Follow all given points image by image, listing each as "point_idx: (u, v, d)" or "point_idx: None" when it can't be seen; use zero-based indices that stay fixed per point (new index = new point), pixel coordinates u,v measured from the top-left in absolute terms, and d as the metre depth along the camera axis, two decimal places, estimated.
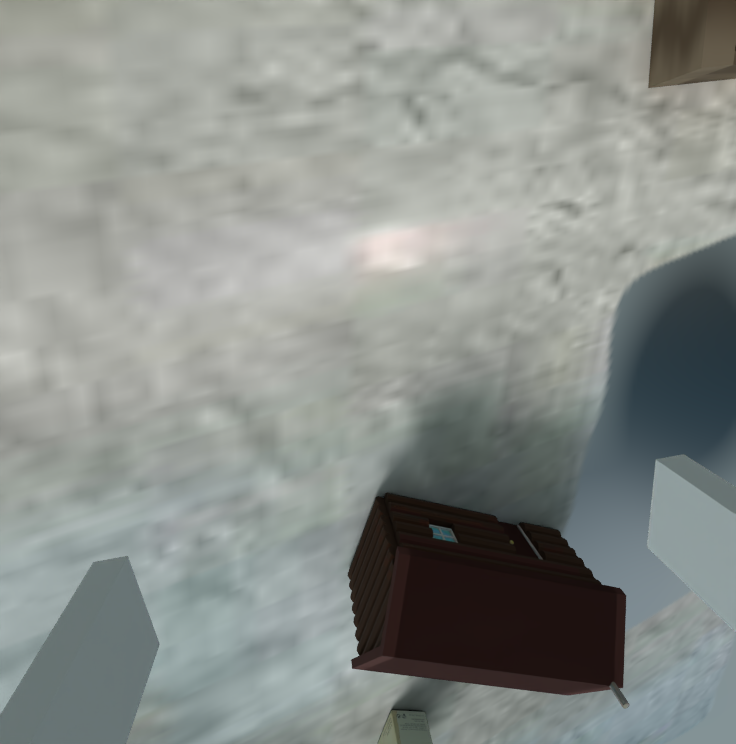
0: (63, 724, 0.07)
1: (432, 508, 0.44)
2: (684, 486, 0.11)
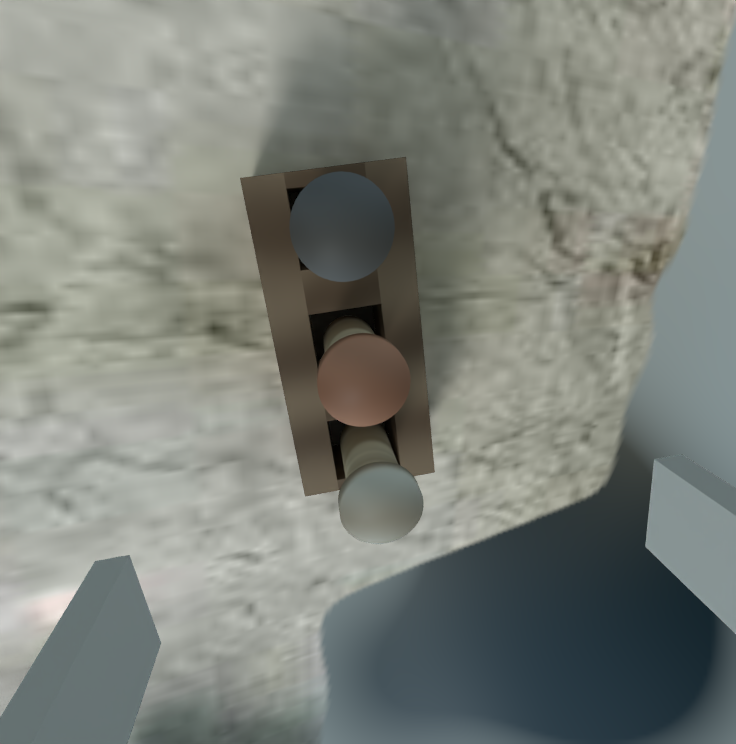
0: (65, 722, 0.08)
1: None
2: (682, 485, 0.11)
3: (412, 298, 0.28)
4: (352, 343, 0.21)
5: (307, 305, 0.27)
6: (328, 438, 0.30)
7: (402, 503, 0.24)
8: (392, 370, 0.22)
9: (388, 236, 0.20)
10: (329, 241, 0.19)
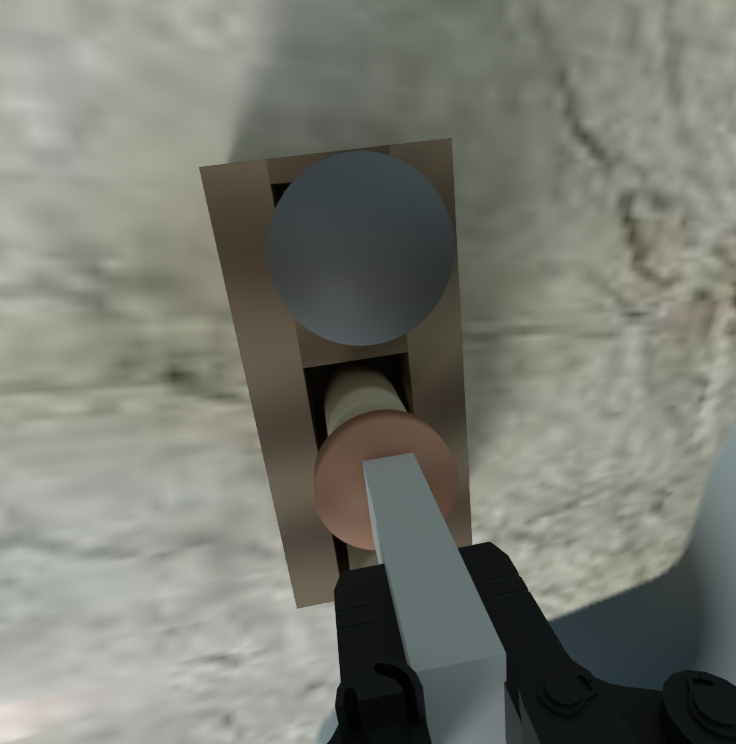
0: None
1: None
2: (394, 479, 0.12)
3: (453, 344, 0.19)
4: (370, 431, 0.13)
5: (301, 355, 0.19)
6: (329, 533, 0.21)
7: None
8: (431, 469, 0.14)
9: (442, 268, 0.11)
10: (338, 276, 0.11)
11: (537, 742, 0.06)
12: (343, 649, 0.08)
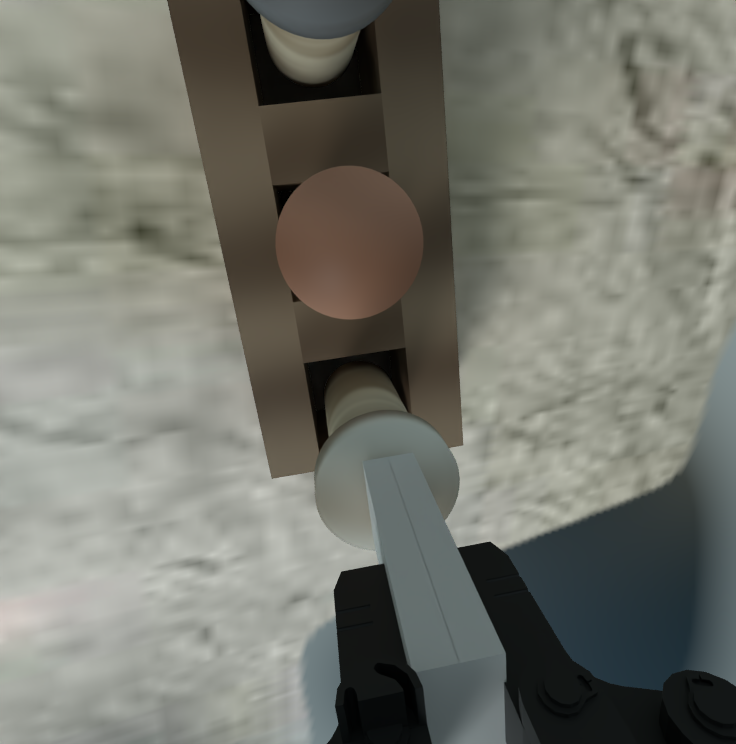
0: None
1: None
2: (394, 479, 0.12)
3: (437, 164, 0.18)
4: (331, 174, 0.13)
5: (270, 168, 0.17)
6: (306, 390, 0.20)
7: None
8: (395, 225, 0.14)
9: None
10: None
11: (537, 742, 0.06)
12: (343, 649, 0.08)
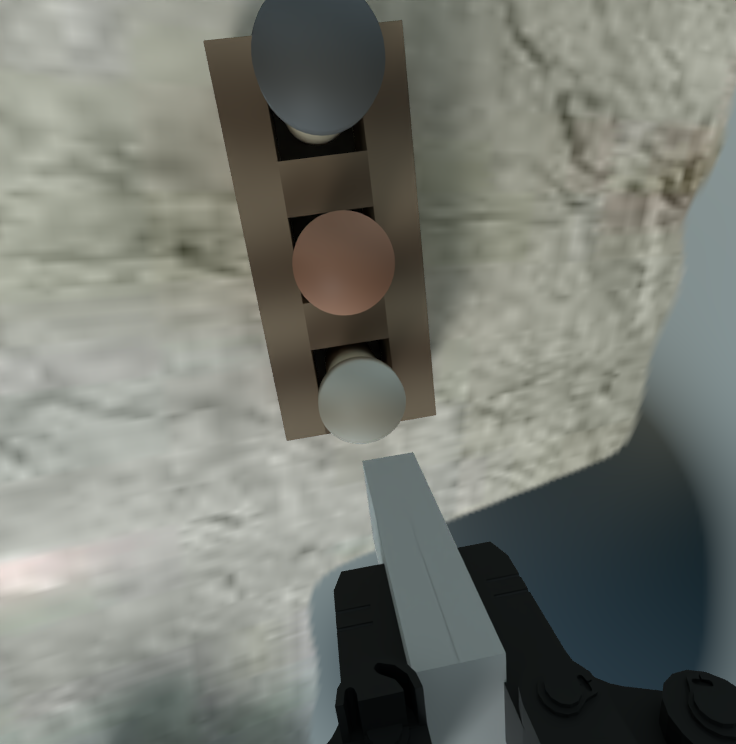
0: None
1: None
2: (394, 479, 0.12)
3: (410, 200, 0.24)
4: (330, 216, 0.19)
5: (286, 205, 0.23)
6: (313, 371, 0.26)
7: (384, 399, 0.23)
8: (374, 249, 0.20)
9: (377, 69, 0.16)
10: (302, 73, 0.15)
11: (537, 742, 0.06)
12: (343, 649, 0.08)
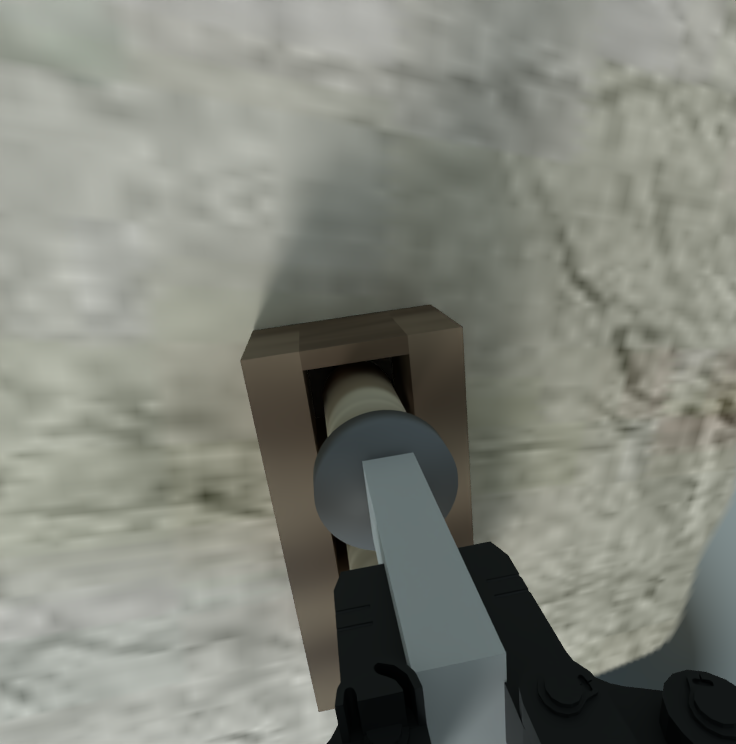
0: None
1: None
2: (394, 479, 0.12)
3: (462, 490, 0.21)
4: None
5: None
6: None
7: None
8: None
9: (449, 495, 0.14)
10: (368, 506, 0.14)
11: (537, 742, 0.06)
12: (343, 649, 0.08)
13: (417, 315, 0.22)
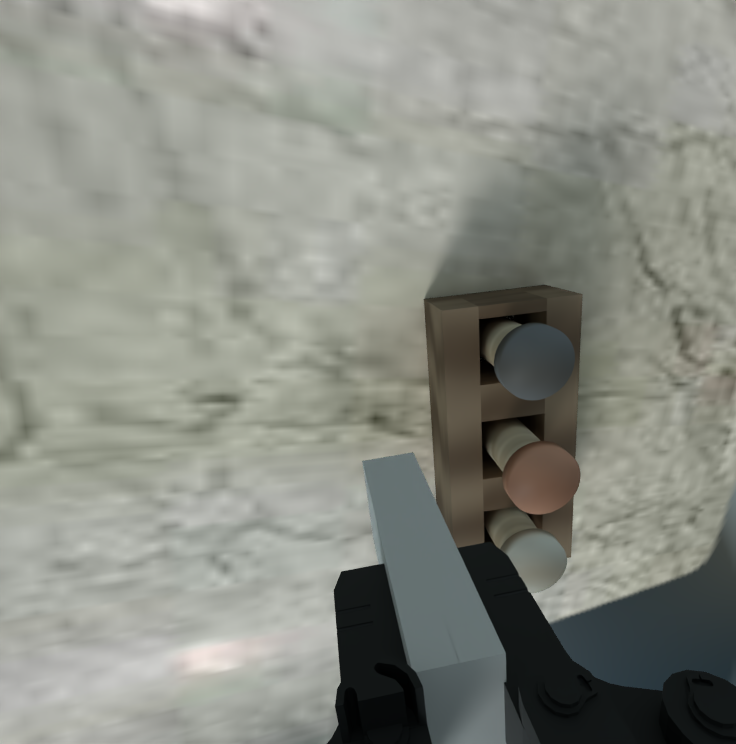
0: None
1: None
2: (394, 479, 0.12)
3: (571, 409, 0.31)
4: (540, 452, 0.27)
5: (481, 414, 0.31)
6: (482, 526, 0.33)
7: (551, 563, 0.30)
8: (567, 472, 0.27)
9: (569, 369, 0.26)
10: (526, 372, 0.26)
11: (537, 742, 0.06)
12: (343, 649, 0.08)
13: (542, 290, 0.32)
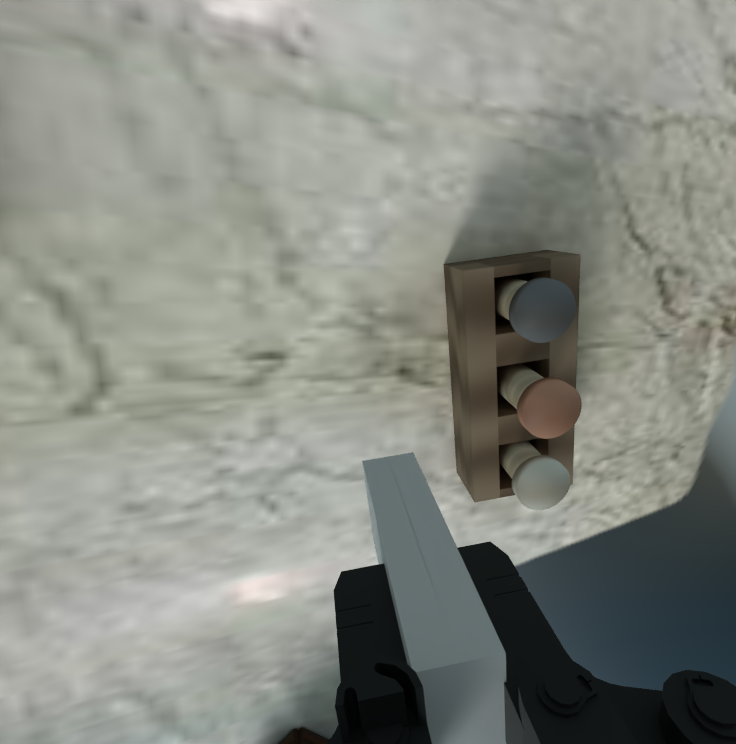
0: None
1: None
2: (394, 479, 0.12)
3: (572, 354, 0.37)
4: (548, 385, 0.32)
5: (496, 359, 0.36)
6: (497, 458, 0.39)
7: (557, 483, 0.36)
8: (570, 402, 0.33)
9: (571, 315, 0.32)
10: (536, 319, 0.32)
11: (537, 742, 0.06)
12: (343, 649, 0.08)
13: (545, 253, 0.37)
